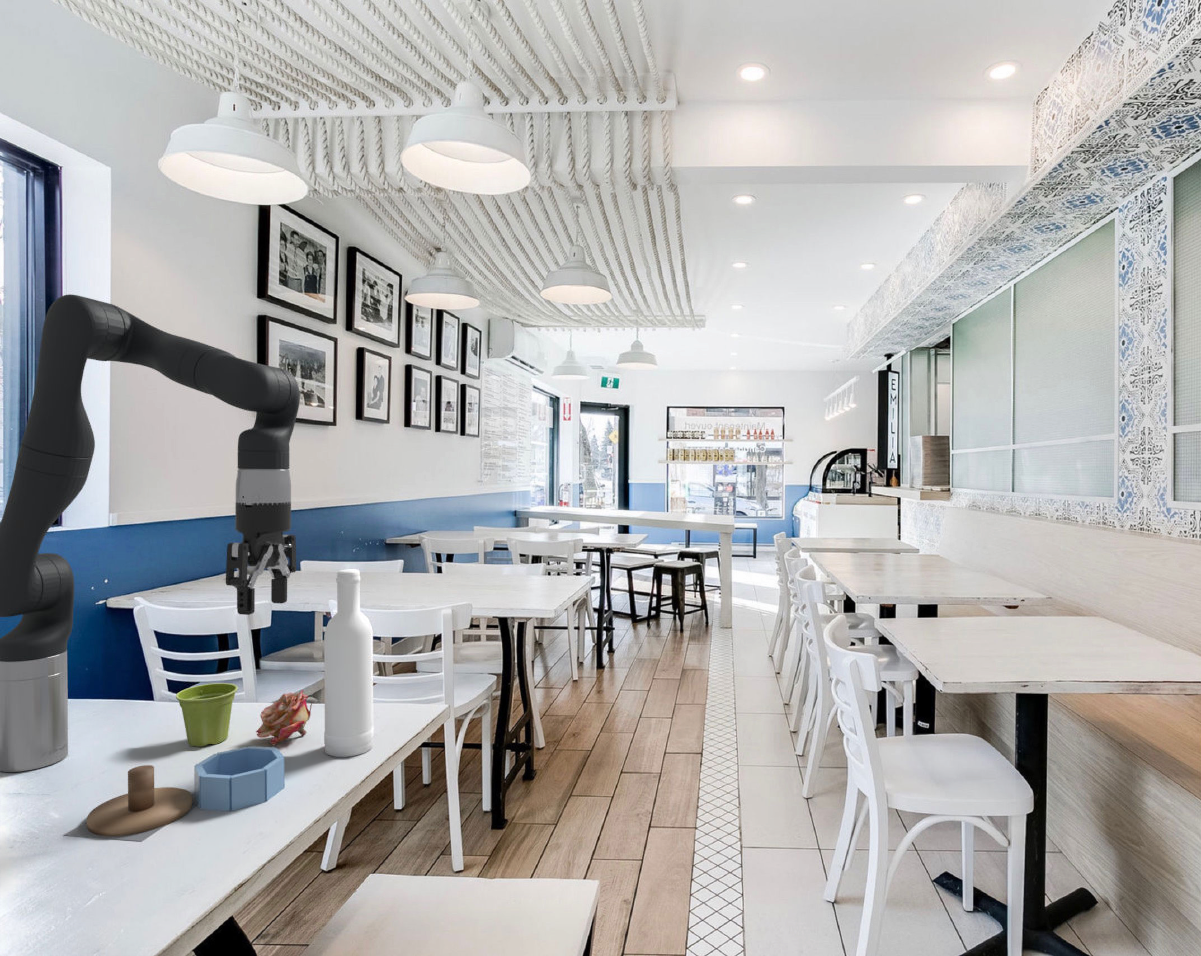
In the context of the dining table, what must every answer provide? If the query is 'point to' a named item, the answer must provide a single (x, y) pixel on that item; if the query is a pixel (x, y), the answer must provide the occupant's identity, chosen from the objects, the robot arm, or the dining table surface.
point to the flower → (285, 717)
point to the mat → (84, 832)
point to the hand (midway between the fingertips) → (263, 608)
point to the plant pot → (207, 712)
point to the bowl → (239, 778)
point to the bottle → (348, 673)
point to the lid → (139, 806)
